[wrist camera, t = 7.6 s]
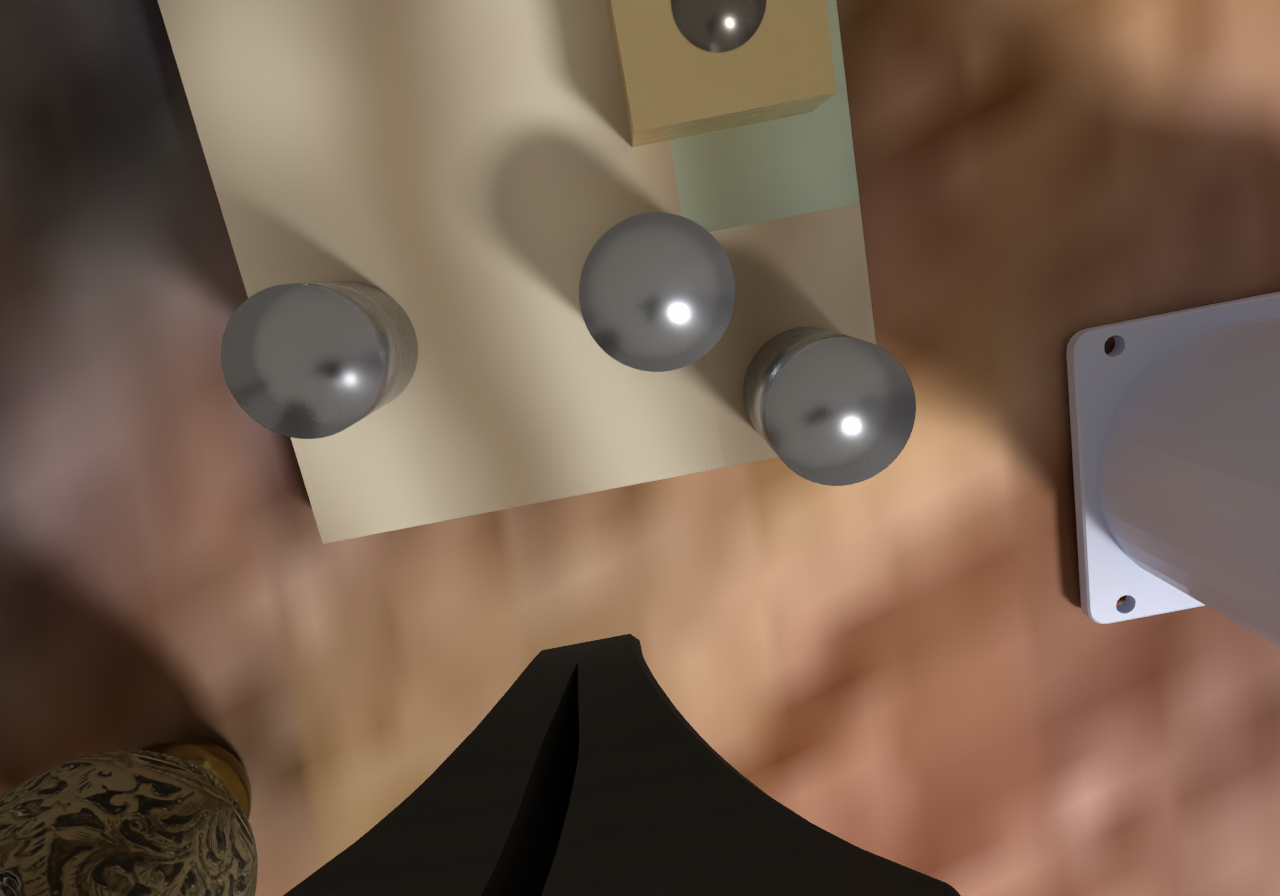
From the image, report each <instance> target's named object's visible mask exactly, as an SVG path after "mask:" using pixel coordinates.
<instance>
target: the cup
mask: <svg viewBox="0 0 1280 896" xmlns="http://www.w3.org/2000/svg"><path fill="white" fill-rule="evenodd" d="M251 800H252V796H251V785H250V781H249V778H248V776H247V773H246V771H245V769H244V768H243V766H242V765H241V763H240V762H239V761H238V760H237V759H236V757H235V756H233V755H232V754H231V753H230V752H229V751H227V750H226V749H225V748H223V747H221V746H219V745H217V744H215V743H213V742H211V741H208V740H205V739H201V738H195V737H174V738H168V739H164V740H161V741H158V742H155V743H152V744H150V745H147V746H145V747H143V748H141V749H139V750H119V751H110V752H102V753H96V754H92V755H88V756H83V757H80V758H77V759H74V760H71V761H68V762H65V763H62V764H59V765H57V766H54V767H52V768H50V769H48V770H46V771H44V772H42V773H40V774H38V775H36V776H34V777H32V778H30V779H28V780H26V781H24V782H22V783H20V784H19V785H17V786H15V787H14V788H12V789H10V790H8V791H7V792H5V793H3V794H2V795H0V896H255V892H256V884H257V851H256V845H255V840H254V836H253V832H252V829H251V826H250V823H249V821H248V820H249V816H250V810H251Z"/></svg>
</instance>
